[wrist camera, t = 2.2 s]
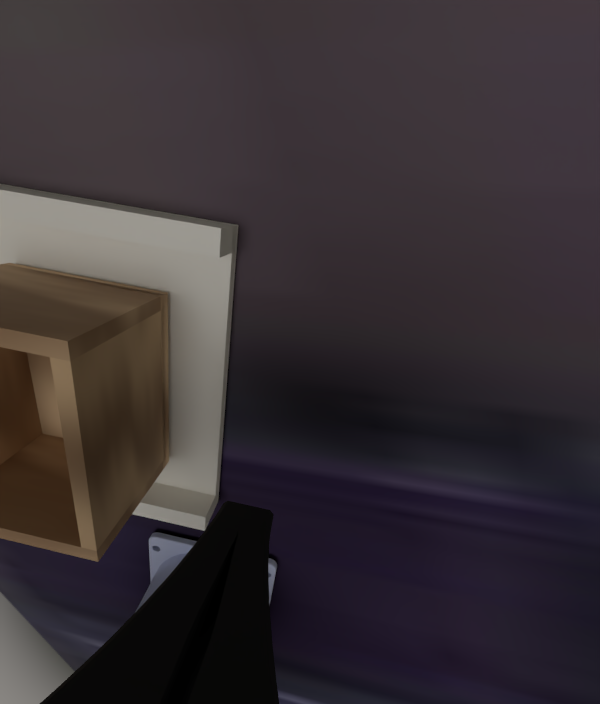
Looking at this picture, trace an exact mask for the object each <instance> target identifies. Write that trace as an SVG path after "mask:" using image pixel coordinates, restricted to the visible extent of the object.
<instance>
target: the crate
mask: <svg viewBox="0 0 600 704" xmlns="http://www.w3.org/2000/svg"><path fill="white" fill-rule="evenodd" d="M168 462H169V381H168V293H167V292H162V291H156V290H151V289H146V288H141V287H135V286H130V285H125V284H119V283H114V282H109V281H103V280H98V279H93V278H88V277H82V276H77V275H72V274H66V273H61V272H56V271H51V270H45V269H40V268H35V267H29V266H24V265H19V264H13V263H6V264H0V538H2V539H6V540H10V541H14V542H19V543H23V544H27V545H31V546H35V547H39V548H43V549H48V550H52V551H56V552H60V553H64V554H68V555H72V556H77V557H81V558H85V559H89V560H93V561H97V562H98V561H99V560H100V559H101V557H102V556H103V554H104V553H105V551H106V550H107V549H108V547H109V546H110V544H111V543H112V542H113V540H114V539H115V537H116V536H117V534H118V533H119V532H120V530H121V529H122V527H123V526H124V525H125V523H126V522H127V520H128V519H129V517H130V516H131V515H132V513H133V512H134V510H135V509H136V507H137V506H138V505H139V503H140V502H141V500H142V499H143V498H144V496H145V495H146V493H147V492H148V490H149V489H150V488H151V486H152V485H153V483H154V482H155V481H156V479H157V478H158V476H159V475H160V473H161V472H162V471H163V469H164V468H165V466H166V465H167V463H168Z"/></svg>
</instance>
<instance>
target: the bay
mask: <svg viewBox="0 0 600 704" xmlns="http://www.w3.org/2000/svg"><path fill="white" fill-rule="evenodd" d="M237 238H238V225H235V224H230V223H224V222H218V221H212V220H207V219H201V218H195V217H189V216H184V215H178V214H172V213H166V212H161V211H155V210H149V209H143V208H138V207H132V206H126V205H120V204H115V203H109V202H103V201H98V200H92V199H86V198H80V197H75V196H69V195H63V194H57V193H52V192H46V191H40V190H34V189H29V188H23V187H17V186H11V185H6V184H0V264H6V263H13V264H19V265H24V266H29V267H35V268H40V269H45V270H51V271H56V272H61V273H66V274H72V275H77V276H82V277H88V278H93V279H98V280H103V281H109V282H114V283H119V284H125V285H130V286H135V287H141V288H146V289H151V290H156V291H162V292H167V293H168V381H169V462H168V463H167V465H166V466H165V468H164V469H163V471H162V472H161V473H160V475H159V476H158V478H157V479H156V481H155V482H154V483H153V485H152V486H151V488H150V489H149V490H148V492H147V493H146V495H145V496H144V498H143V499H142V500H141V502H140V503H139V505H138V506H137V507H136V509H135V510H134V512H133V513H132V514H134V515H139V516H143V517H147V518H152V519H156V520H160V521H164V522H169V523H173V524H177V525H182V526H186V527H190V528H195V529H199V530H203V531H205V529H206V527H207V525H208V523H209V520H210V518H211V516H212V514H213V511H214V509H215V507H216V505H217V502H218V498H219V485H220V471H221V457H222V444H223V430H224V416H225V403H226V389H227V375H228V361H229V348H230V334H231V320H232V307H233V293H234V279H235V265H236V252H237Z"/></svg>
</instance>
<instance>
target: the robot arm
mask: <svg viewBox="0 0 600 704" xmlns="http://www.w3.org/2000/svg"><path fill="white" fill-rule="evenodd" d="M272 520H273V513H272V512H271V511H270V510H266V509H262V508H257V507H253V506H248V505H244V504H239V503H235V502H231V501H227V502H225V503H224V504H223V505H222V507H221V509H220V510H219V512H218V513H217V515H216V516H215V518H214V519H213V520H212V522H211V523H210V525H209V526H208V527H207V529H206V530H205V531H204V533H203V534H202V535H201V537H200V538H199V539H198V541H194V540H189V539H185V538H181V537H177V536H172V535H168V534H164V533H160V532H155V533H153V534H152V535H151V537H150V538H149V558H150V580H151V583H150V585H149V587H148V589H147V591H146V593H145V595H144V597H143V599H142V601H141V602H140V604H139V606H138V608H137V610H136V612H135V613H134V614H133V615H132V617H131V618H130V619H129V620H128V621H127V622H126V623H125V624H124V625H123V626H122V627H121V628H120V629H119V630H118V631H117V632H116V633H115V634H114V635H113V636H112V637H111V638H110V639H109V640H108V641H107V642H106V643H105V644H104V645H103V646H102V647H101V648H100V649H99V650H98V651H97V652H96V653H95V654H93V655H92V656H91V657H90V658H89V659H88V660H87V661H86V662H85V663H84V664H83V665H82V666H81V667H80V668H78V669H77V670H76V671H75V672H74V673H73V674H72V675H71V676H70V677H69V678H68V679H67V680H66V681H65V682H63V683H62V684H61V685H60V686H59V687H58V688H57V689H56V690H55V691H54V692H52V693H51V694H50V695H49V696H48V697H47V698H46V699H45V700H44V701H43V702H41V703H40V704H279V699H278V691H277V683H276V675H275V666H274V657H273V647H272V635H271V623H270V607H269V606H270V601H271V595H272V590H273V585H274V580H275V574H276V569H277V563H276V562H275V561H274V560H273V559H271V558H269V539H270V532H271V526H272Z"/></svg>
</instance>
